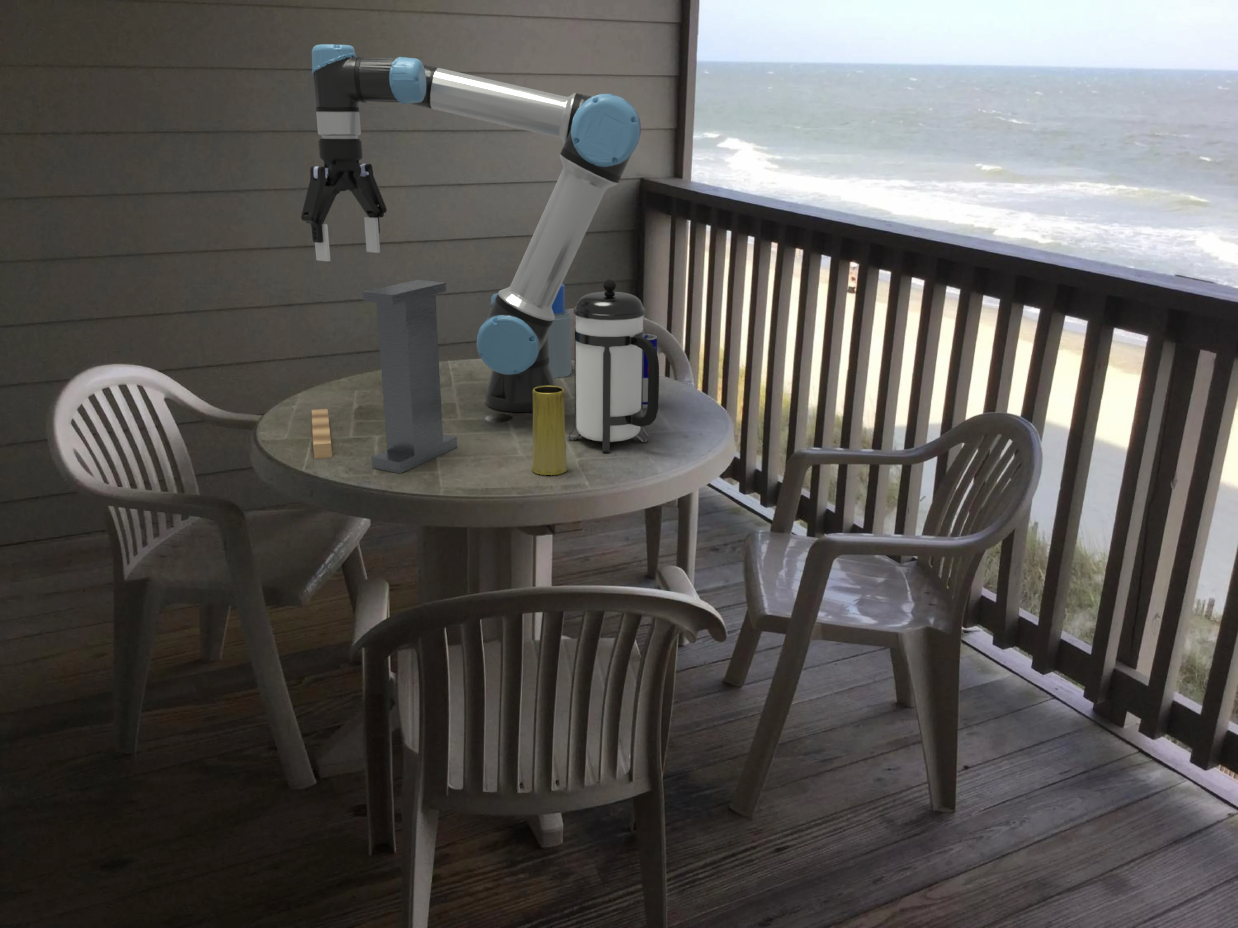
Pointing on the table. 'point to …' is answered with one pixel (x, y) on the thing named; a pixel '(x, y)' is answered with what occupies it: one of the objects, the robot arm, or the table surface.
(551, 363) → the spray bottle
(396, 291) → the charcoal post
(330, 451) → the oak bar
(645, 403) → the beverage can
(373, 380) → the table surface
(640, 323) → the coffee press
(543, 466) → the vase
